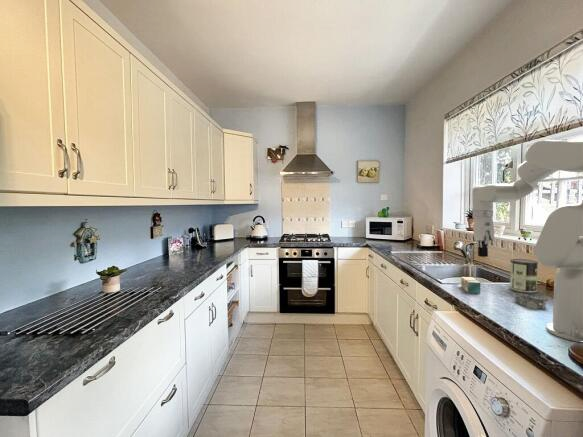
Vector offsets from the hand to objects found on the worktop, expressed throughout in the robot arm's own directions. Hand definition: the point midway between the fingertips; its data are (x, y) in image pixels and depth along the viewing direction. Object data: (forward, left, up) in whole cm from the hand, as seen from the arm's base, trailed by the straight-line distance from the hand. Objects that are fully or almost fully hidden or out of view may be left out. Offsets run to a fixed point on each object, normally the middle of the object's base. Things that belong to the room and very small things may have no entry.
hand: (482, 256), depth 125 cm
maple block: (+8, 0, -16) cm, 18 cm away
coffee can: (+19, -24, -19) cm, 36 cm away
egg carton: (-4, -16, -19) cm, 25 cm away
